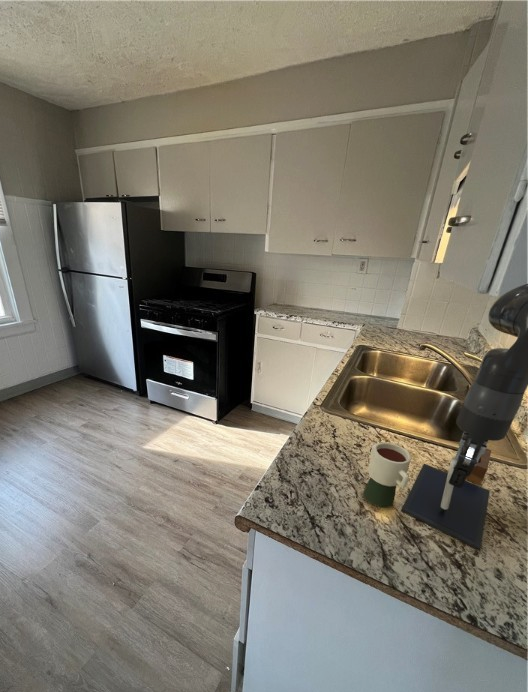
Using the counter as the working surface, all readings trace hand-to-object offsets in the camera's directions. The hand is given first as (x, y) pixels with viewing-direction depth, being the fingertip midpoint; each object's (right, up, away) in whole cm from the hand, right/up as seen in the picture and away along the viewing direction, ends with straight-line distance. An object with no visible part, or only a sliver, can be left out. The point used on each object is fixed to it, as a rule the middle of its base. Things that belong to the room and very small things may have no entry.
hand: (455, 482), depth 63 cm
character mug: (-13, -6, +7) cm, 16 cm away
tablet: (+3, -7, +7) cm, 10 cm away
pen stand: (+15, -2, +17) cm, 23 cm away
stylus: (0, -7, +3) cm, 8 cm away
